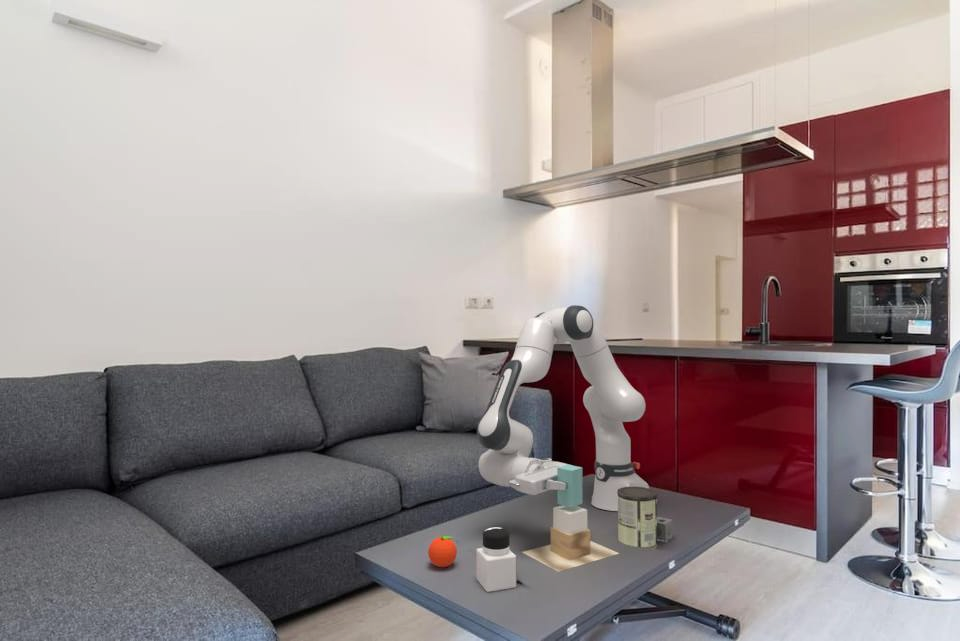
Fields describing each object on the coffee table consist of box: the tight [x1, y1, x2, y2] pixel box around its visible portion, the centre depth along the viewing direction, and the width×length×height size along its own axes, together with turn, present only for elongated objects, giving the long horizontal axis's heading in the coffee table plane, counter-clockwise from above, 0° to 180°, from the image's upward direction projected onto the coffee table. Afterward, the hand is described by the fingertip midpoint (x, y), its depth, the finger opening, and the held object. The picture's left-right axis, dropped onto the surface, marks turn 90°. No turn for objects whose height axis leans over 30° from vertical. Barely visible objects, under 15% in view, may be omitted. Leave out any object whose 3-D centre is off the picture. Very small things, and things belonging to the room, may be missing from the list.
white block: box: [552, 505, 588, 535], centre depth 144 cm, size 6×6×5 cm
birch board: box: [521, 540, 620, 573], centre depth 143 cm, size 20×14×1 cm
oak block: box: [550, 526, 591, 560], centre depth 144 cm, size 7×7×6 cm
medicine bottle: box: [476, 527, 517, 593], centre depth 129 cm, size 7×7×12 cm
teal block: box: [556, 464, 584, 507], centre depth 144 cm, size 4×4×9 cm
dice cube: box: [657, 516, 674, 541], centre depth 157 cm, size 5×5×5 cm
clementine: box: [427, 535, 459, 568], centre depth 139 cm, size 8×7×7 cm
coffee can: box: [617, 487, 658, 549], centre depth 152 cm, size 10×10×14 cm
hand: (573, 484), depth 143 cm, fingers closed on teal block, 4 cm apart
